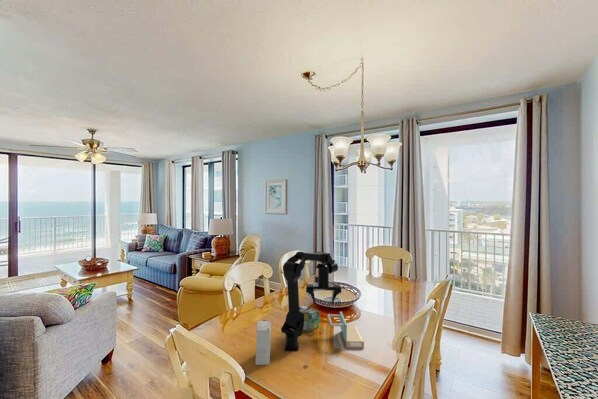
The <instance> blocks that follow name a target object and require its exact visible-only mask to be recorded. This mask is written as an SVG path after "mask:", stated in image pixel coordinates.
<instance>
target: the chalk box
mask: <svg viewBox="0 0 598 399" xmlns="http://www.w3.org/2000/svg"><path fill="white" fill-rule="evenodd" d="M299 310H300V312H302V313H304V321H305V322H304V326H303V331H305V332H308V333H310V332H312V331H313V330H316V329H318V327H320V322H322V319H320V310H319V309H316V308H313V307H310V306H308V305H305V304H304V305H303V304H302V305H301V306H300V305H299Z"/></svg>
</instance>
